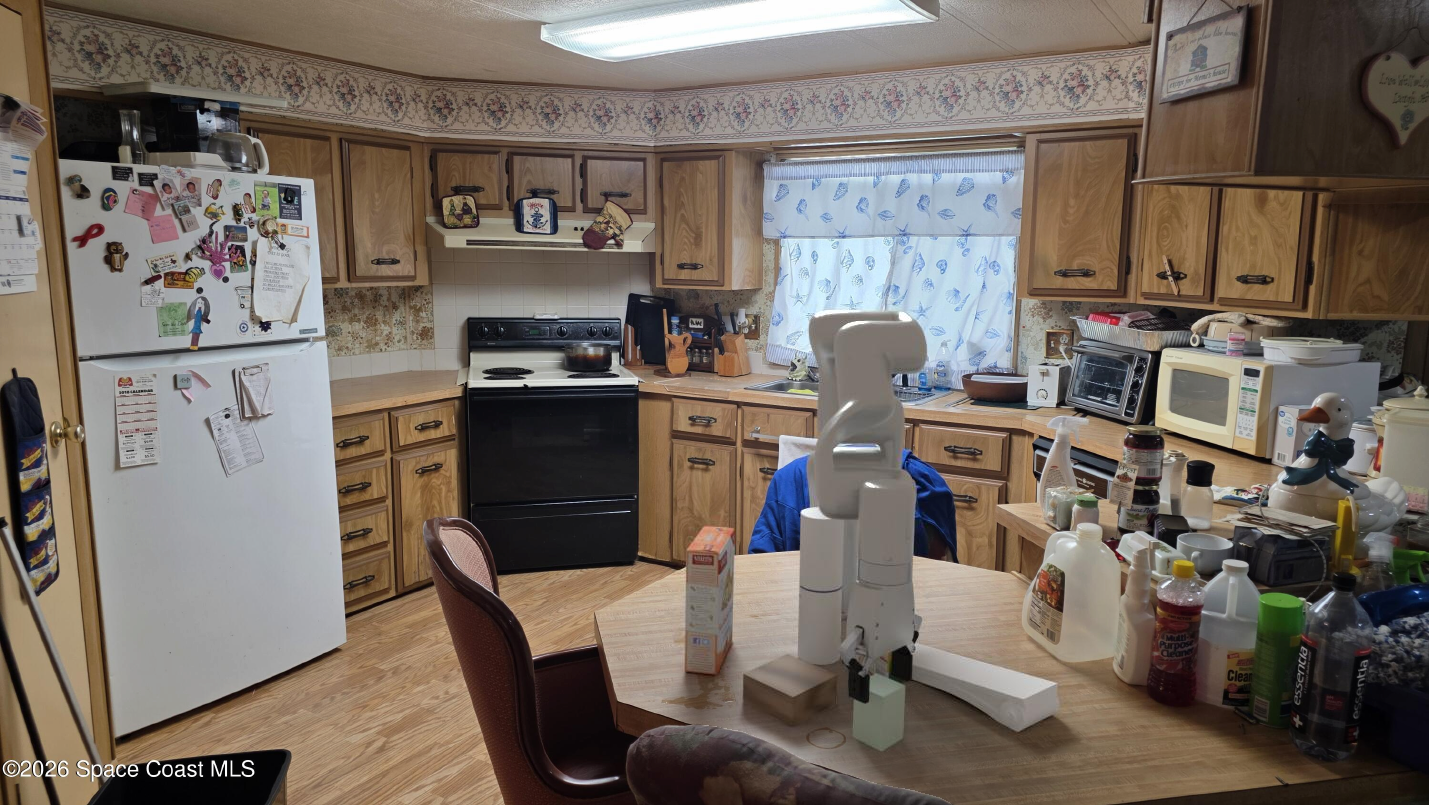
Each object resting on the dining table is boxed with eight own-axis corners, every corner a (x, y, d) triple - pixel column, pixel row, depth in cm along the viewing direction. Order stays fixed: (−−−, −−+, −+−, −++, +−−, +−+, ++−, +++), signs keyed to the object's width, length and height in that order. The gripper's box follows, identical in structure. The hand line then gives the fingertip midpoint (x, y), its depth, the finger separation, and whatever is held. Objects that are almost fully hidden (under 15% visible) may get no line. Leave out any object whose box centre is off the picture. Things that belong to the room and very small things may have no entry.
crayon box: (903, 684, 142) (906, 615, 140) (887, 687, 141) (890, 617, 139) (879, 665, 149) (882, 598, 147) (863, 668, 148) (866, 600, 146)
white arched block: (881, 697, 150) (1027, 750, 127) (871, 659, 148) (1016, 705, 126) (920, 667, 155) (1065, 713, 133) (910, 630, 154) (1056, 669, 131)
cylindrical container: (812, 668, 147) (816, 521, 143) (789, 651, 154) (792, 510, 150) (848, 659, 151) (853, 515, 147) (824, 643, 157) (828, 505, 153)
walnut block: (786, 683, 143) (787, 653, 142) (836, 706, 136) (837, 675, 135) (742, 704, 136) (743, 673, 135) (792, 729, 129) (793, 697, 128)
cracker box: (719, 677, 144) (720, 552, 141) (683, 673, 145) (683, 549, 142) (735, 641, 158) (736, 526, 154) (701, 638, 159) (702, 524, 156)
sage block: (874, 725, 130) (876, 673, 128) (903, 738, 126) (905, 685, 125) (852, 737, 126) (854, 684, 125) (881, 751, 123) (883, 697, 121)
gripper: (899, 551, 131) (895, 662, 133) (821, 577, 119) (818, 699, 121) (943, 563, 125) (938, 679, 127) (867, 592, 114) (863, 719, 116)
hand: (880, 688), depth 124 cm, fingers open, 9 cm apart
